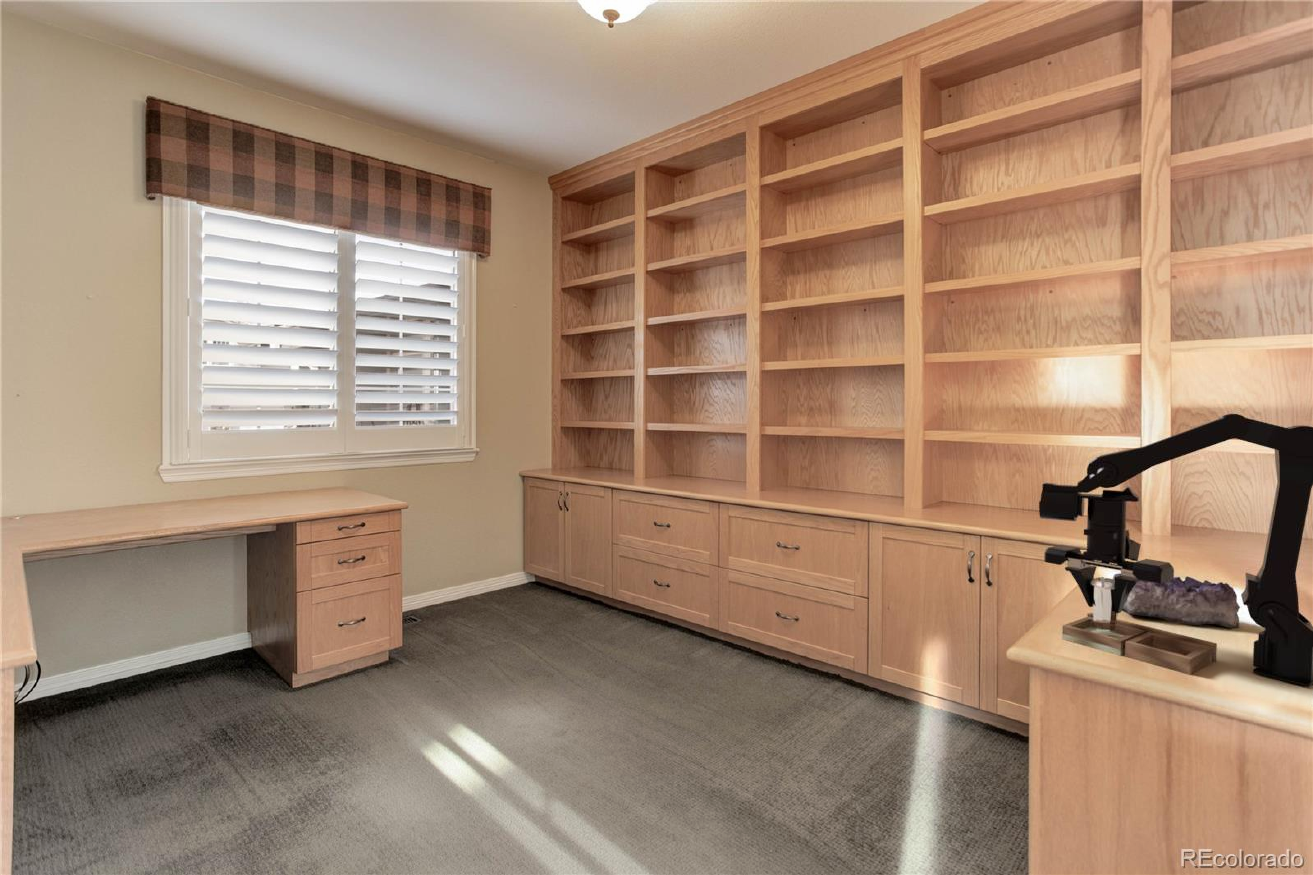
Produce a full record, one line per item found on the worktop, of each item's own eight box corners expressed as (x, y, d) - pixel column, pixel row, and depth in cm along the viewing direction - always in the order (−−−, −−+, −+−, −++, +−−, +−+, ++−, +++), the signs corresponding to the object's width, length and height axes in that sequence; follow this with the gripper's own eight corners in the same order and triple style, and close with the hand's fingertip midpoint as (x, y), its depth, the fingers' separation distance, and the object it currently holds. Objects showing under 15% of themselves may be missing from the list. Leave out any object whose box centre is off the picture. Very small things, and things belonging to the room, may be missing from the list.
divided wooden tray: (1216, 661, 108) (1216, 643, 108) (1190, 675, 102) (1190, 656, 102) (1090, 628, 124) (1090, 612, 124) (1061, 638, 118) (1062, 622, 118)
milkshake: (1086, 629, 116) (1087, 574, 116) (1093, 622, 120) (1094, 569, 120) (1116, 635, 113) (1117, 579, 113) (1122, 628, 117) (1124, 573, 116)
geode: (1229, 617, 131) (1235, 570, 129) (1245, 642, 121) (1252, 592, 119) (1108, 599, 141) (1112, 555, 139) (1114, 621, 131) (1118, 574, 129)
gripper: (1188, 527, 112) (1186, 615, 113) (1073, 513, 128) (1071, 591, 129) (1160, 534, 106) (1158, 627, 107) (1043, 518, 122) (1042, 599, 123)
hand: (1104, 609), depth 117 cm, fingers closed on milkshake, 4 cm apart
